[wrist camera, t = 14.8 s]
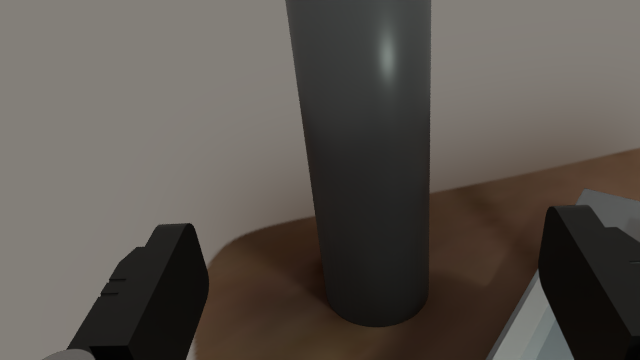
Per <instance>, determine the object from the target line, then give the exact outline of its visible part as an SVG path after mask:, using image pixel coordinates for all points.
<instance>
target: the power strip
mask: <svg viewBox="0 0 640 360" xmlns="http://www.w3.org/2000/svg"><path fill="white" fill-rule="evenodd" d="M575 205H589V206H590V207H591V208H592V209H593V211H594V212H595V213H596V215H597V216H598V218H599V219H600V221H601V222H602V223H603V225H604V226H605V227H618V228H619V229H621V230H622V231H624V232H625V233H627V234H628V235H630V236H631V237H633V238H634V239H636V240H637V241H639V242H640V201H636V200H631V199H627V198H623V197H619V196H615V195H611V194H607V193H602V192H598V191H594V190H590V189H586V188H584V190H583V192H582V194H581V195H580V197H579V199H578V201H577V202H576V204H575ZM486 360H574V358H573V356H572V354H571V351H570V349H569V347H568V345H567V343H566V340H565V338H564V336H563V334H562V331H561V329H560V327H559V325H558V323H557V320H556V318H555V316H554V314H553V311H552V309H551V307H550V305H549V303H548V300H547V298H546V296H545V294H544V291H543V289H542V286H541V283H540V278H539V271H538V270H537V272H536V273H535V275H534V277H533V278H532V280H531V282H530V284H529V285H528V287H527V289H526V291H525V292H524V294H523V296H522V298H521V299H520V301H519V303H518V304H517V306H516V308H515V310H514V311H513V313H512V315H511V317H510V318H509V320H508V322H507V324H506V325H505V327H504V329H503V330H502V332H501V334H500V336H499V337H498V339H497V341H496V343H495V344H494V346H493V348H492V350H491V351H490V353H489V355H488V356H487V358H486Z"/></svg>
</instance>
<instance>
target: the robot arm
mask: <svg viewBox="0 0 640 360" xmlns="http://www.w3.org/2000/svg"><path fill="white" fill-rule="evenodd" d="M538 271H539V278H540V283H541V286H542V289H543V291H544V294H545V296H546V298H547V300H548V303H549V305H550V307H551V309H552V311H553V314H554V316H555V318H556V320H557V323H558V325H559V327H560V329H561V331H562V334H563V336H564V338H565V340H566V343H567V345H568V347H569V349H570V351H571V354H572V356H573V358H574V360H640V242H639V241H637V240H636V239H634V238H633V237H631V236H630V235H628V234H627V233H625V232H624V231H622V230H621V229H619V228H618V227H605V226H604V225H603V223H602V222H601V221H600V219H599V218H598V216H597V215H596V213H595V212H594V211H593V209H592V208H591V207H590V206H589V205H569V206H551V207H549V208H548V210H547V213H546V218H545V224H544V230H543V236H542V242H541V248H540V254H539V261H538ZM208 291H209V277H208V272H207V268H206V265H205V261H204V258H203V255H202V252H201V248H200V244H199V241H198V238H197V234H196V231H195V228H194V226H193V225H192V224H190V223H185V224H166V225H158V226H157V227H156V228H155V230H154V231H153V233H152V235H151V237H150V238H149V240H148V242H147V244H146V245H145V247H136V248H135V249H134V250H133V251H132V252H131V253H129V254H128V255H127V256H126V257H125V258H124V259H123V260H121V261H120V262H119V264H118V265H117V267H116V269H115V270H114V272H113V274H112V275H111V277H110V279H109V283H107V284H106V285H105V287H104V289H103V290H102V292H101V297H98V299H97V300H96V302H95V303H94V305H93V307H92V309H91V310H90V312H89V313H88V315H87V317H86V318H85V320H84V321H83V323H82V325H81V326H80V328H79V330H78V331H77V333H76V335H75V336H74V338H73V340H72V341H71V343H70V345H69V346H68V348H67V349H66V350H64V351H60V352H57V353H55V354H52V355H50V356H48V357H46V358H44V359H43V360H186V358H187V355H188V352H189V349H190V346H191V343H192V340H193V338H194V335H195V332H196V329H197V326H198V323H199V320H200V317H201V315H202V312H203V309H204V306H205V303H206V300H207V297H208Z"/></svg>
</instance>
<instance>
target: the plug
mask: <svg viewBox="0 0 640 360" xmlns="http://www.w3.org/2000/svg"><path fill="white" fill-rule="evenodd" d="M285 1H286V7H287V15H288V22H289V28H290V36H291V44H292V50H293V58H294V65H295V72H296V79H297V87H298V94H299V101H300V108H301V115H302V123H303V129H304V137H305V144H306V151H307V159H308V165H309V172H310V180H311V187H312V194H313V201H314V209H315V216H316V223H317V230H318V237H319V245H320V252H321V259H322V266H323V273H324V280H325V288H326V295H327V299H328V302H329V304H330V306H331V307H332V308H333V310H334V311H335V312H336V313H337V314H338V315H340V316H341V317H342V318H344V319H346V320H348V321H350V322H352V323H355V324H358V325H362V326H368V327H385V326H391V325H396V324H399V323H402V322H404V321H406V320H408V319H410V318H411V317H413V316H414V315H415V314H417V313H418V312H419V311H420V310H421V309H422V307H423V306H424V304H425V302H426V300H427V297H428V289H429V181H430V180H429V177H430V176H429V175H430V170H429V169H430V70H431V68H430V67H431V62H430V61H431V0H285Z"/></svg>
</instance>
